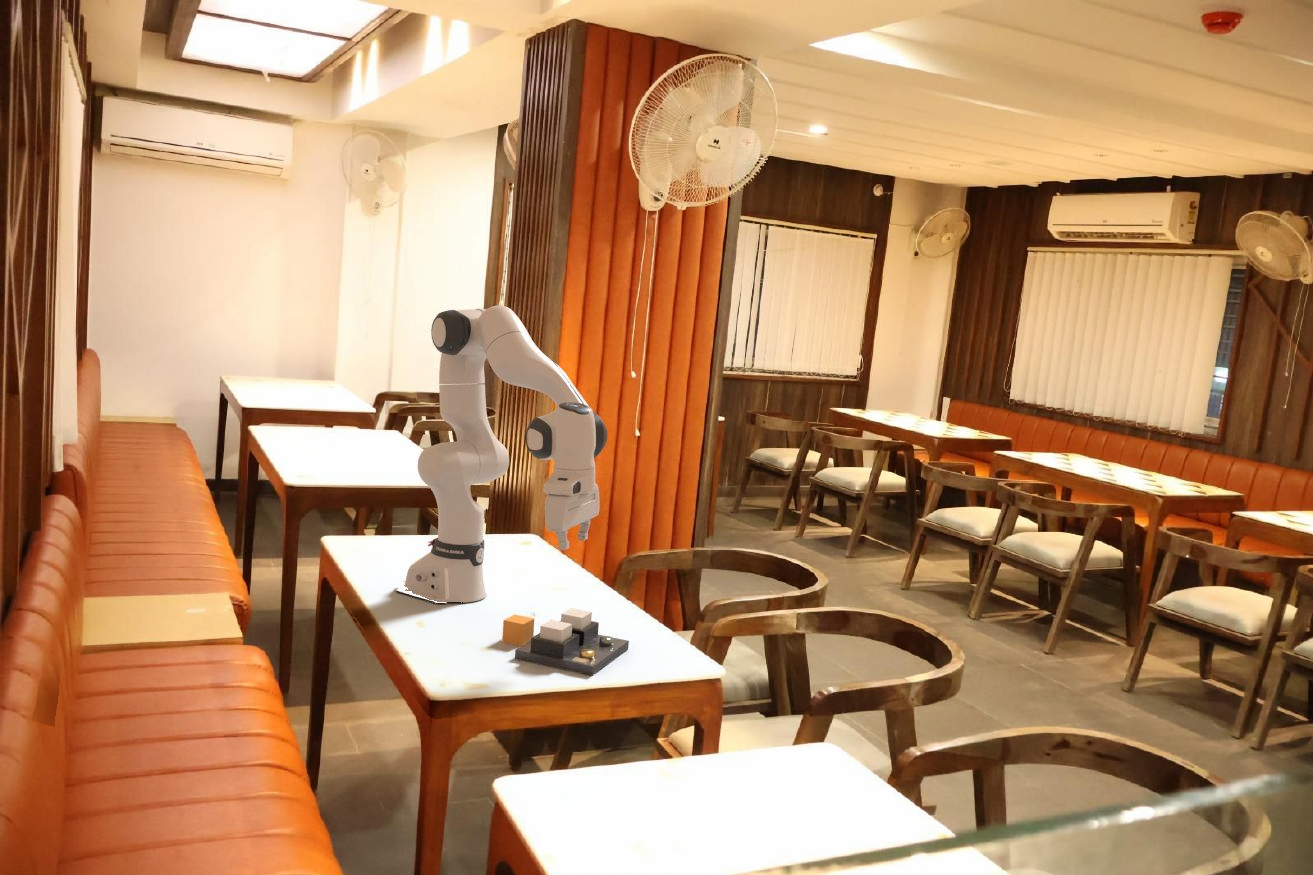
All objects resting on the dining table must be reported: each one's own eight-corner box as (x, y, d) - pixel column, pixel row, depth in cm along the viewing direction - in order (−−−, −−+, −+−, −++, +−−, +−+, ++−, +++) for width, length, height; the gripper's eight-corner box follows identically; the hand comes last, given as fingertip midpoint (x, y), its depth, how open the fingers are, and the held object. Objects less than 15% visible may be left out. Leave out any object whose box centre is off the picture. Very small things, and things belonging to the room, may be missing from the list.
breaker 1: (539, 639, 224) (540, 625, 223) (550, 633, 228) (551, 619, 228) (560, 644, 222) (561, 630, 221) (571, 637, 226) (572, 624, 226)
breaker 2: (560, 627, 233) (561, 613, 232) (570, 621, 237) (571, 608, 237) (581, 631, 231) (582, 617, 231) (590, 625, 236) (591, 612, 235)
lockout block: (502, 642, 234) (503, 620, 233) (513, 635, 239) (514, 614, 238) (522, 646, 232) (523, 624, 232) (532, 640, 237) (534, 618, 236)
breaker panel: (514, 658, 224) (516, 636, 223) (555, 634, 242) (556, 613, 241) (592, 675, 218) (594, 652, 217) (628, 649, 235) (629, 627, 235)
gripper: (580, 472, 235) (580, 533, 237) (539, 486, 216) (538, 553, 218) (607, 474, 233) (606, 536, 235) (567, 489, 214) (566, 556, 216)
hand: (573, 544), depth 226 cm, fingers open, 8 cm apart
